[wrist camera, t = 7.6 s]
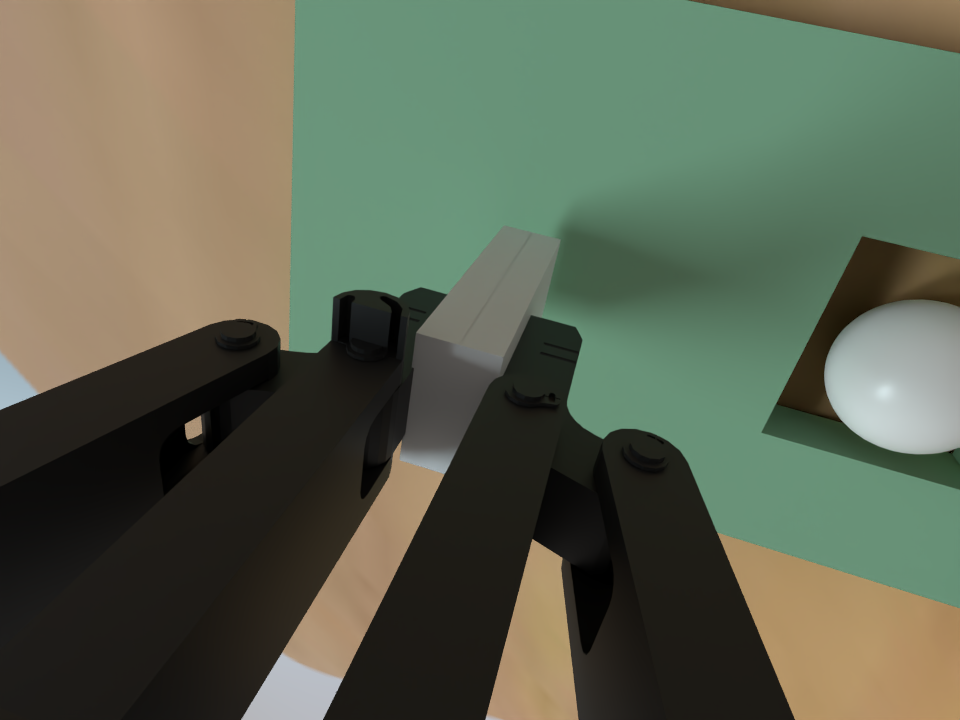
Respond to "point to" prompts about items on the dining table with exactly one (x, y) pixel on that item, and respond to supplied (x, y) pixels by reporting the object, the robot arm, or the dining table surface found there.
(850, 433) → the green
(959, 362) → the ball
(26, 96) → the dining table surface
